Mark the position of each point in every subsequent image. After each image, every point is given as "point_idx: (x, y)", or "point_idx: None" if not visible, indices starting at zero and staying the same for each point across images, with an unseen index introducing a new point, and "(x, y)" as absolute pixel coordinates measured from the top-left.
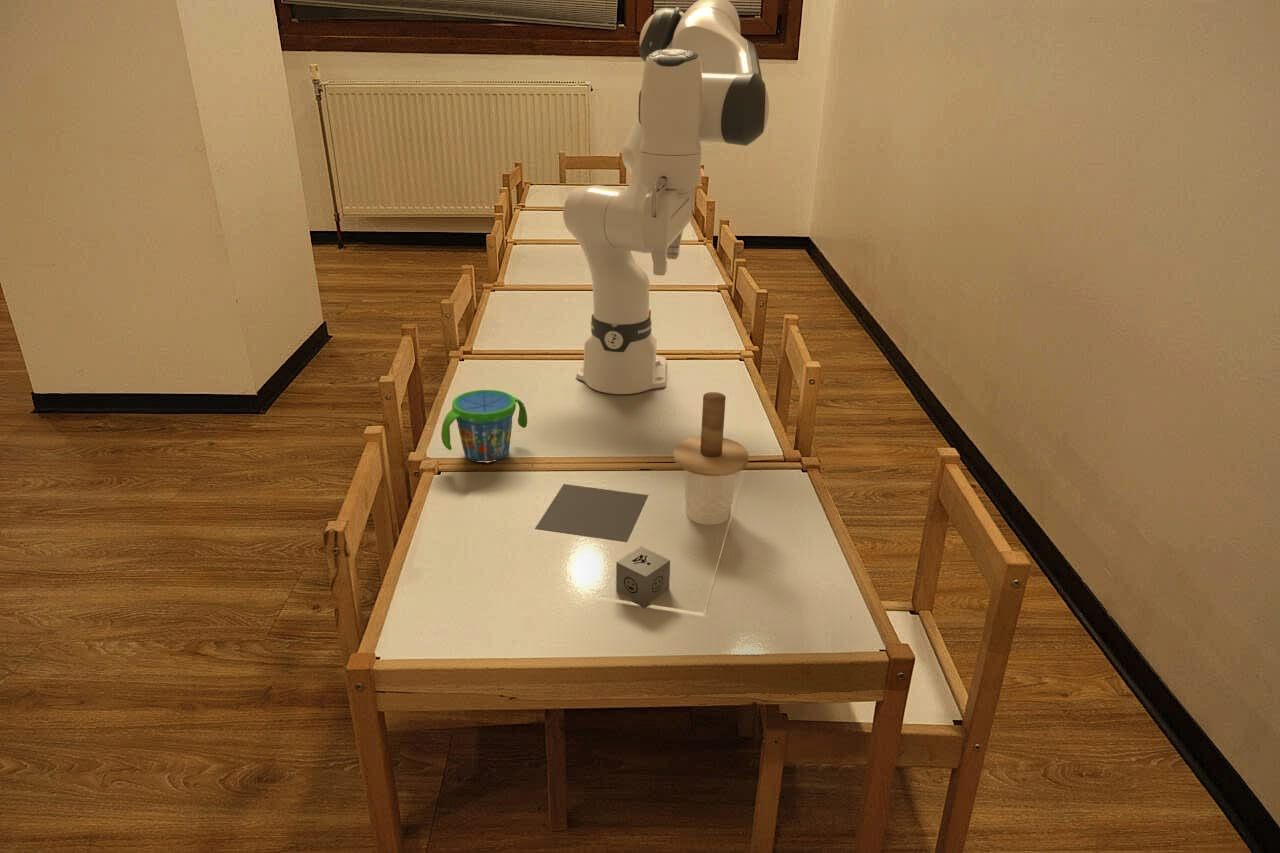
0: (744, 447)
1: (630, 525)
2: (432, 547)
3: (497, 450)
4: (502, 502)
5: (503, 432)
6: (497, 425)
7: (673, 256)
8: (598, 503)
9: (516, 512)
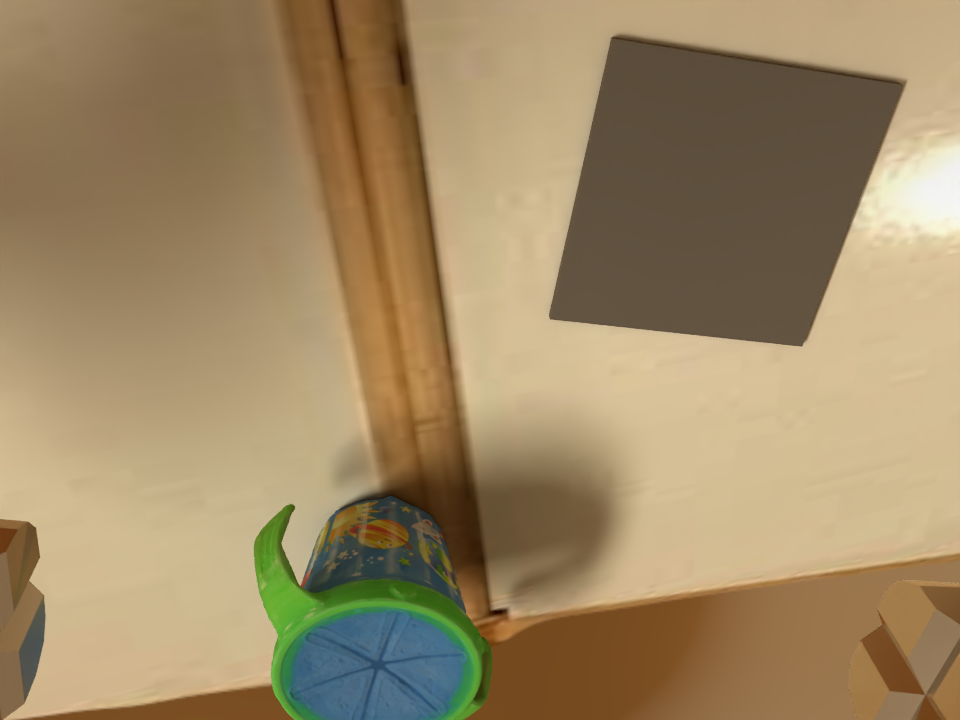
0: None
1: (809, 83)
2: (849, 531)
3: (434, 534)
4: (647, 446)
5: (427, 559)
6: (448, 592)
7: (19, 592)
8: (671, 200)
9: (700, 404)
